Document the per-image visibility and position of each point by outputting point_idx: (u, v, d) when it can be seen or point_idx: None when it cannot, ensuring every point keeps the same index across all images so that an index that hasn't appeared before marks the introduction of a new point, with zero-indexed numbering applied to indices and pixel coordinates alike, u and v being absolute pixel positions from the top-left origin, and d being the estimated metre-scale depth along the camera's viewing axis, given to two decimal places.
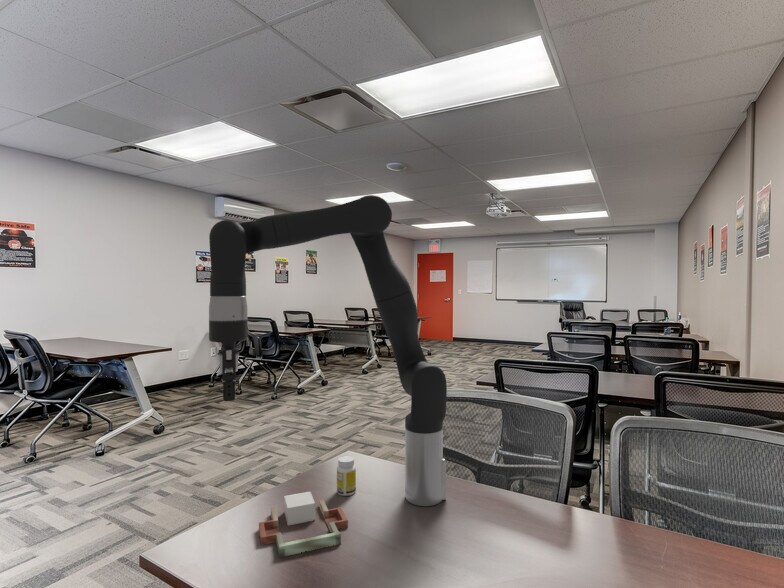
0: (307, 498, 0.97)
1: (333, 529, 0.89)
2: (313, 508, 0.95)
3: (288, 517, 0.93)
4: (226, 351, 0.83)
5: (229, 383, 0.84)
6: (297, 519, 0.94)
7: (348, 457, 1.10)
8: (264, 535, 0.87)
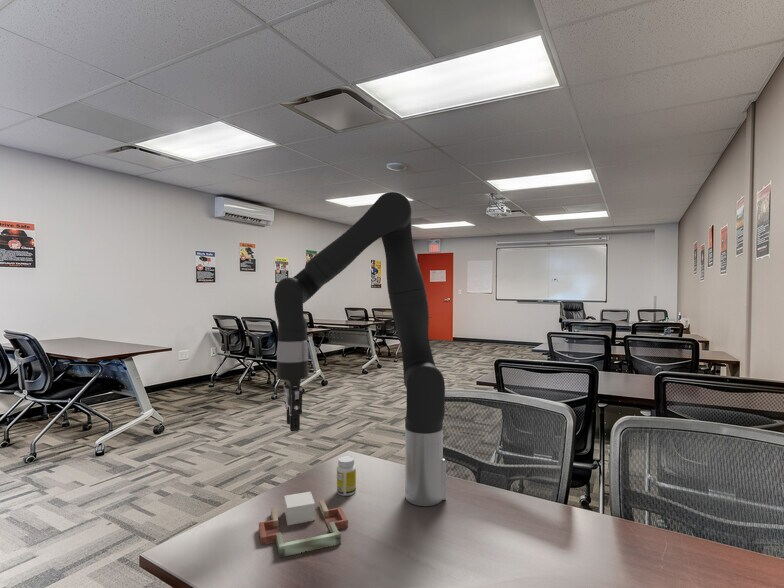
0: (307, 498, 0.97)
1: (333, 529, 0.89)
2: (313, 509, 0.95)
3: (288, 517, 0.94)
4: (295, 393, 1.00)
5: (295, 416, 1.02)
6: (297, 519, 0.94)
7: (348, 457, 1.10)
8: (264, 535, 0.87)
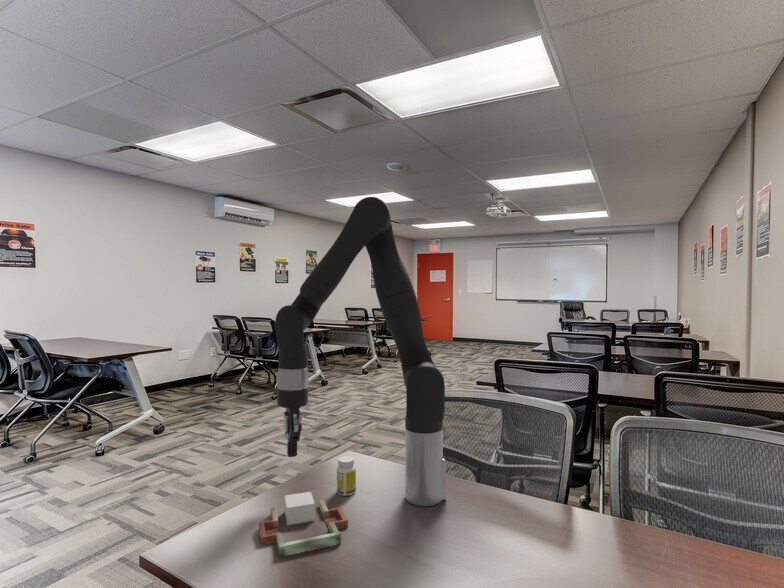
0: (307, 498, 0.97)
1: (333, 529, 0.89)
2: (313, 509, 0.95)
3: (287, 517, 0.94)
4: (294, 428, 1.00)
5: (293, 443, 1.05)
6: (297, 519, 0.94)
7: (348, 457, 1.10)
8: (264, 535, 0.87)
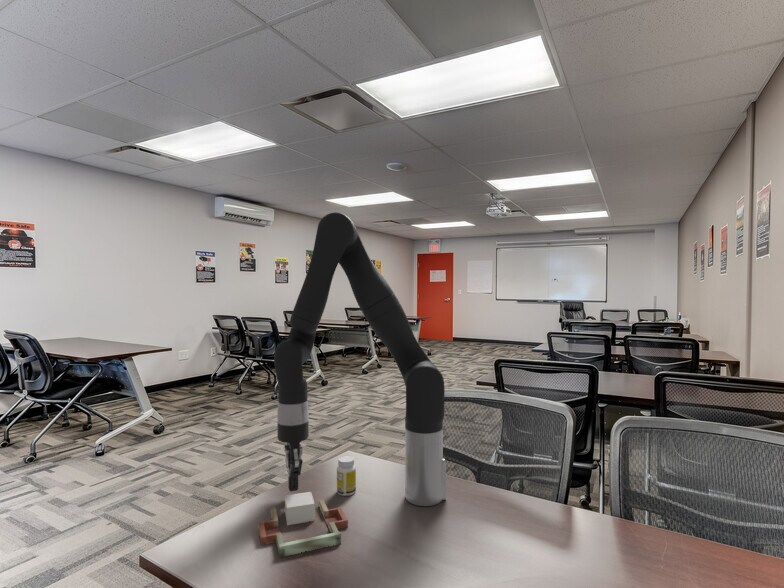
0: (307, 499, 0.97)
1: (333, 529, 0.89)
2: (313, 509, 0.95)
3: (287, 517, 0.94)
4: (295, 463, 1.00)
5: (294, 477, 1.05)
6: (296, 519, 0.94)
7: (348, 457, 1.10)
8: (264, 535, 0.87)
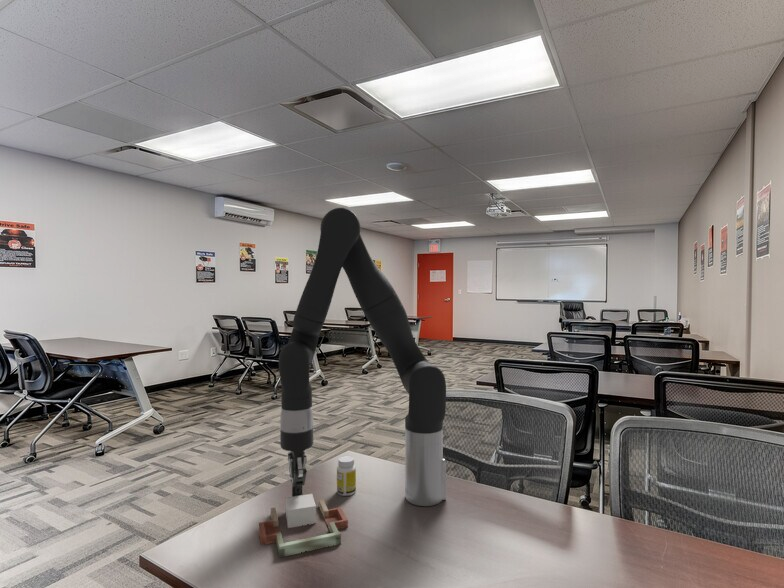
0: (308, 501, 0.96)
1: (333, 529, 0.89)
2: (314, 511, 0.94)
3: (288, 519, 0.92)
4: (298, 473, 0.95)
5: (298, 487, 0.99)
6: (297, 522, 0.93)
7: (348, 457, 1.10)
8: (264, 535, 0.87)
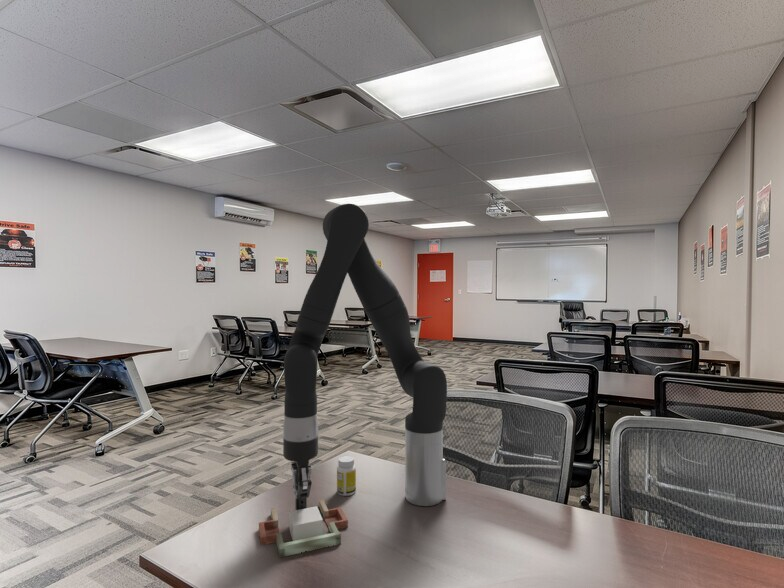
0: (314, 514, 0.91)
1: (333, 529, 0.89)
2: (321, 526, 0.88)
3: (294, 535, 0.87)
4: (303, 485, 0.89)
5: (302, 499, 0.93)
6: (304, 537, 0.87)
7: (348, 457, 1.10)
8: (264, 535, 0.87)
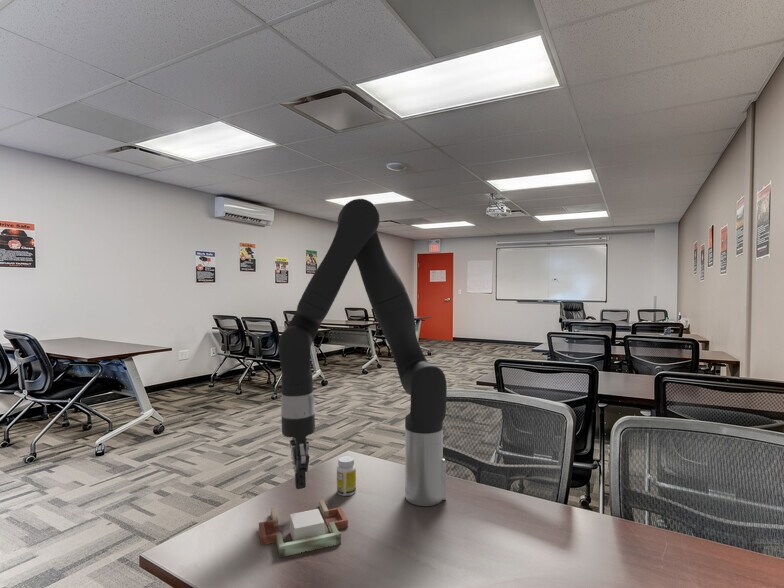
0: (315, 517, 0.89)
1: (333, 529, 0.89)
2: (323, 528, 0.87)
3: (295, 538, 0.85)
4: (301, 459, 0.93)
5: (301, 474, 0.98)
6: None
7: (348, 457, 1.10)
8: (264, 535, 0.87)
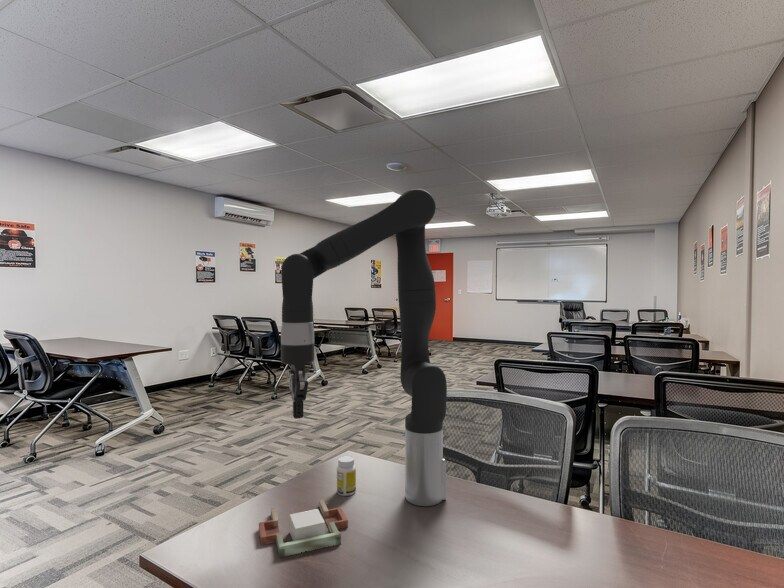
0: (315, 517, 0.89)
1: (333, 529, 0.89)
2: (323, 528, 0.87)
3: (296, 539, 0.85)
4: (300, 384, 0.93)
5: (299, 403, 0.97)
6: None
7: (348, 457, 1.10)
8: (264, 535, 0.87)
